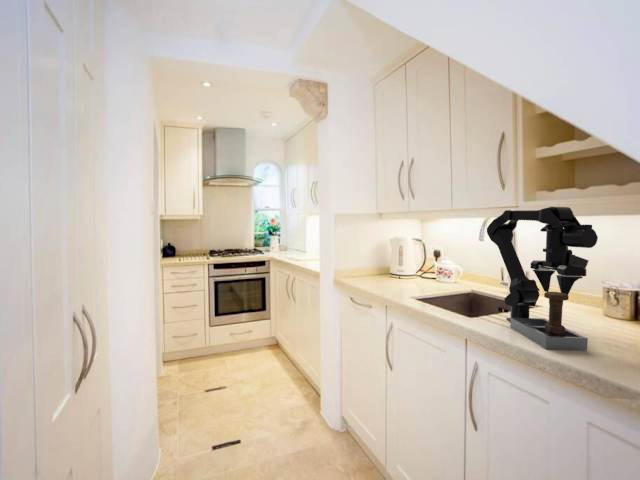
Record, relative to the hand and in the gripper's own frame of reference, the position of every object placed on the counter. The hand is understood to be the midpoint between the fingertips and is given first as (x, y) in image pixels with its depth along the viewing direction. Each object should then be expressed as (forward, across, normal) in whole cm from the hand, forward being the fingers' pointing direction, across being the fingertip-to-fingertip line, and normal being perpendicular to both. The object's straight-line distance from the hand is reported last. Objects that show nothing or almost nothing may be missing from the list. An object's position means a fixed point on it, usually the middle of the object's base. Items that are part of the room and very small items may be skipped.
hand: (555, 294), depth 105 cm
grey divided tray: (+13, -4, +5) cm, 14 cm away
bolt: (+13, -8, +5) cm, 16 cm away
